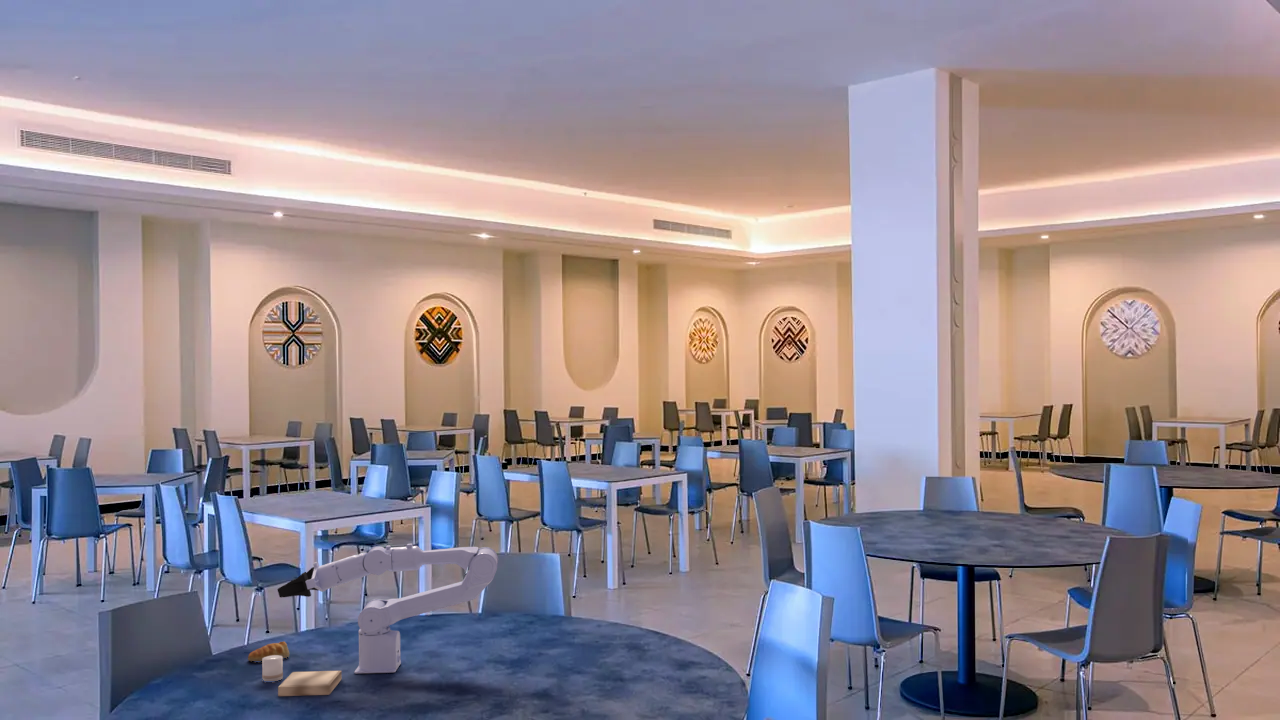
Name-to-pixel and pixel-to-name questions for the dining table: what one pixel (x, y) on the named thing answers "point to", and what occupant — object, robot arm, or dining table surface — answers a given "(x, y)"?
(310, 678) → the base board
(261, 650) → the pastry
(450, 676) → the dining table surface
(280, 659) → the pot
